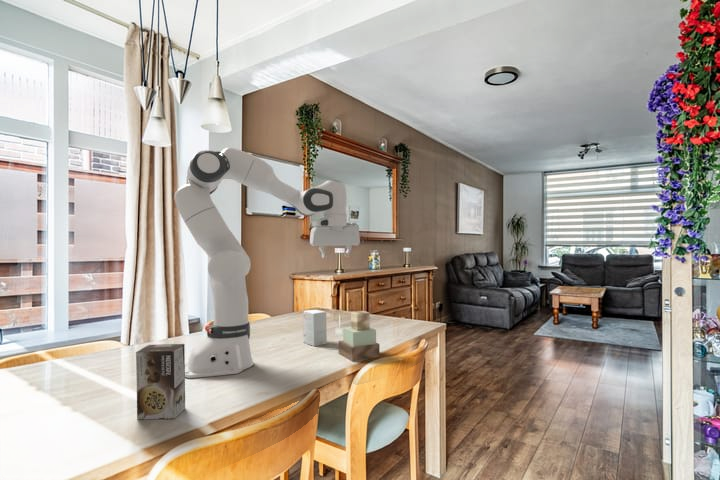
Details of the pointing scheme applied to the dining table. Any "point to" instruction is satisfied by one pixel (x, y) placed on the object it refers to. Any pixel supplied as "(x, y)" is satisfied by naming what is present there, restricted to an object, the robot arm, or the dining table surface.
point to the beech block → (360, 320)
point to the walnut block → (358, 351)
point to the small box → (314, 327)
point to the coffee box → (160, 381)
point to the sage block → (359, 337)
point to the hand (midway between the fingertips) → (335, 257)
